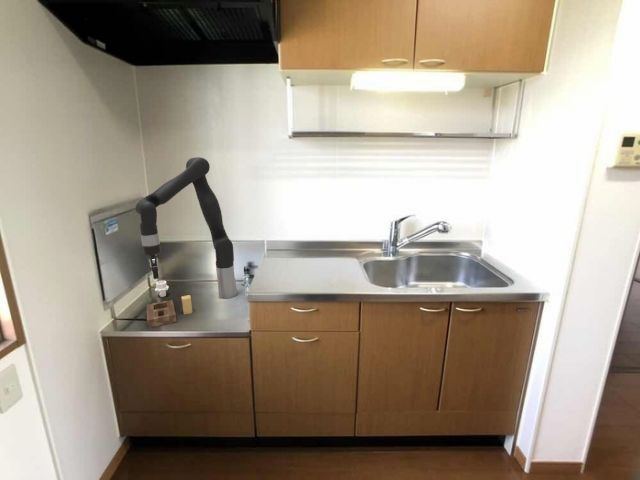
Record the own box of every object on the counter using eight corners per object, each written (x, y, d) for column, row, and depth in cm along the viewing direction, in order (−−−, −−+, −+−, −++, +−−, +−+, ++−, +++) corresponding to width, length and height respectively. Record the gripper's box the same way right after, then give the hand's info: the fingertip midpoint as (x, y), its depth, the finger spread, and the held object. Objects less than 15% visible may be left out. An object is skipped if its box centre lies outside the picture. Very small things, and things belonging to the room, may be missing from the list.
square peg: (191, 309, 177) (189, 295, 175) (192, 312, 173) (190, 298, 171) (183, 311, 175) (181, 296, 173) (184, 314, 172) (182, 299, 169)
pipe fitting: (161, 292, 197) (159, 279, 195) (172, 294, 195) (170, 280, 193) (153, 297, 191) (151, 283, 189) (164, 298, 189) (162, 285, 187)
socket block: (173, 306, 180) (172, 299, 179) (176, 322, 164) (175, 314, 163) (147, 311, 175) (146, 304, 174) (148, 328, 159) (147, 320, 158)
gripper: (160, 246, 159) (165, 279, 163) (158, 238, 171) (163, 269, 175) (142, 248, 155) (147, 282, 160) (141, 240, 168) (146, 272, 172)
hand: (155, 275), depth 167 cm, fingers open, 8 cm apart
